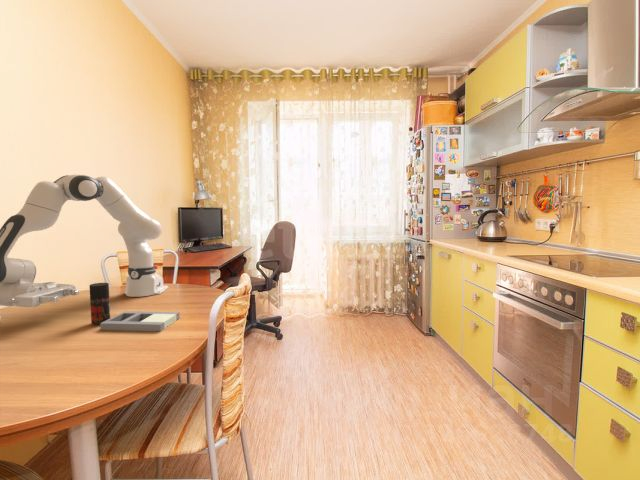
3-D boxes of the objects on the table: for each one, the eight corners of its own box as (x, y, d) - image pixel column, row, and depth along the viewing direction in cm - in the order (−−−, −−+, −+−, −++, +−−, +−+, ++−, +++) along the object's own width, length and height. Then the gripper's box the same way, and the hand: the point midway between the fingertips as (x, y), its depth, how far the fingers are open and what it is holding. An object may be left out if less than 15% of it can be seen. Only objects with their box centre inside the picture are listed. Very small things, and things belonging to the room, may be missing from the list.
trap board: (125, 317, 127) (125, 311, 127) (179, 318, 126) (179, 312, 126) (100, 330, 113) (100, 323, 113) (160, 331, 112) (160, 324, 112)
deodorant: (89, 323, 120) (87, 284, 119) (108, 319, 124) (106, 281, 123) (93, 327, 116) (91, 286, 115) (112, 322, 120) (110, 284, 119)
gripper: (3, 293, 109) (42, 294, 109) (54, 281, 130) (87, 282, 129) (4, 311, 110) (43, 312, 109) (55, 296, 130) (88, 297, 130)
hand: (67, 295), depth 119 cm, fingers open, 8 cm apart
